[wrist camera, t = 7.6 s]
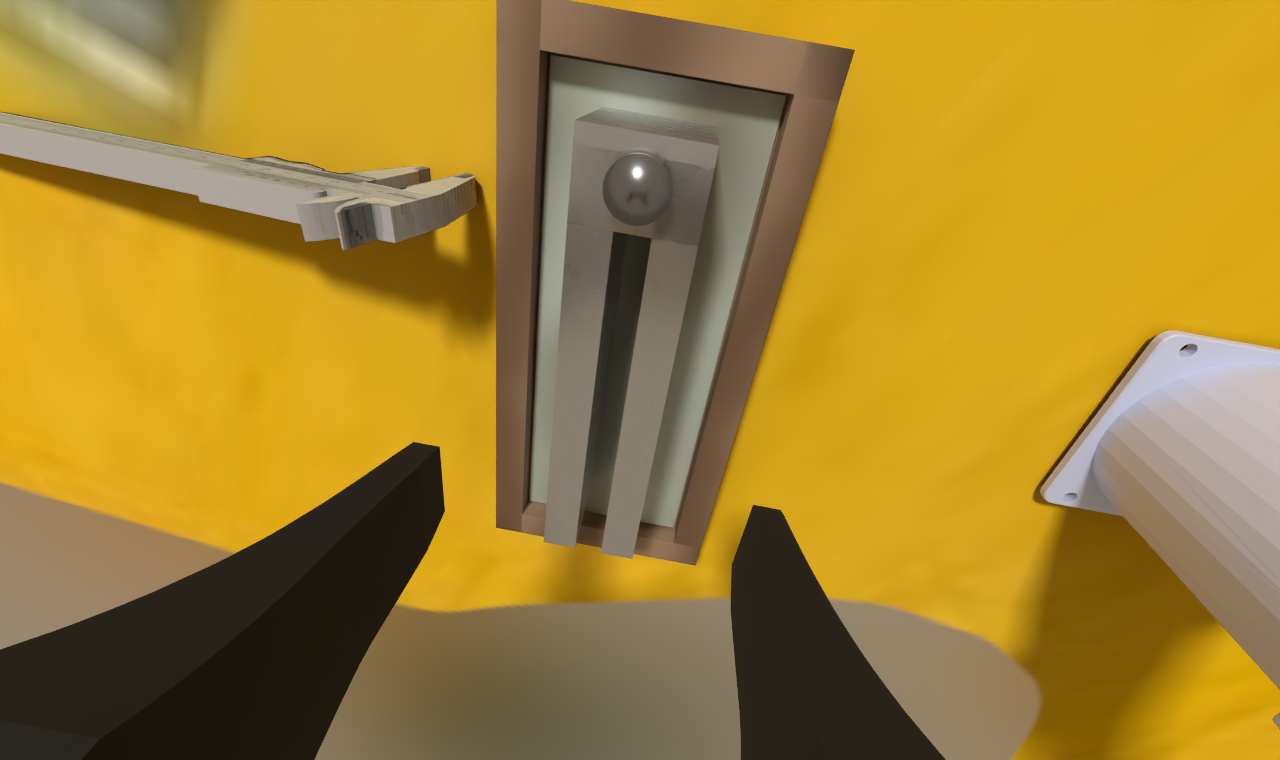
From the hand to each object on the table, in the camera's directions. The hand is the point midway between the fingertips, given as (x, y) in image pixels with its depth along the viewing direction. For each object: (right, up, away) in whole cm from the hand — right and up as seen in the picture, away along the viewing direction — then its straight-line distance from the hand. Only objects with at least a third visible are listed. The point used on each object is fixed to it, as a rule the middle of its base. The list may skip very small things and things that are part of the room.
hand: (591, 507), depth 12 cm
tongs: (+1, +4, +7) cm, 9 cm away
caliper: (-14, +11, +7) cm, 20 cm away
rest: (+1, +5, +9) cm, 10 cm away
